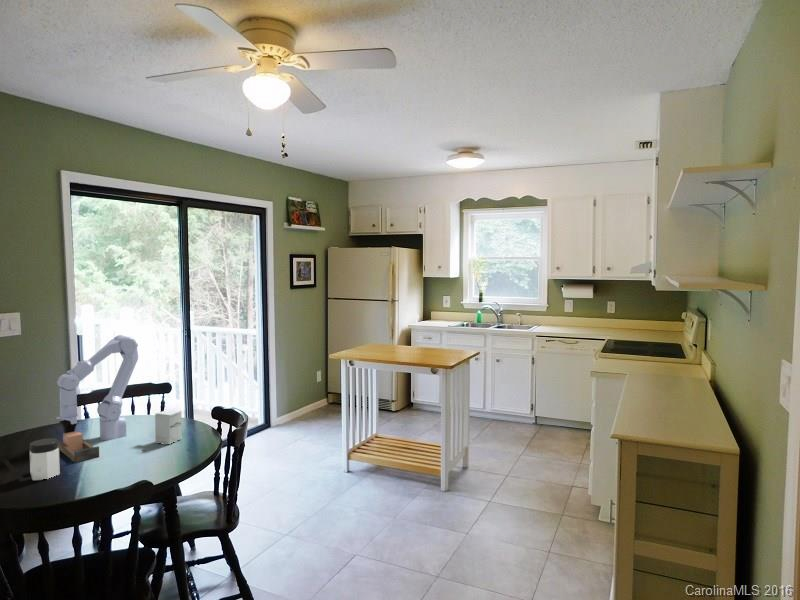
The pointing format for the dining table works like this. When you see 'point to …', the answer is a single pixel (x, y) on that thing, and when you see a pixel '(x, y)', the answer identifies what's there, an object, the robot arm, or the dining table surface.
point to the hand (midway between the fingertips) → (69, 438)
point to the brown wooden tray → (80, 452)
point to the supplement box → (168, 426)
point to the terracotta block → (73, 440)
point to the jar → (44, 459)
